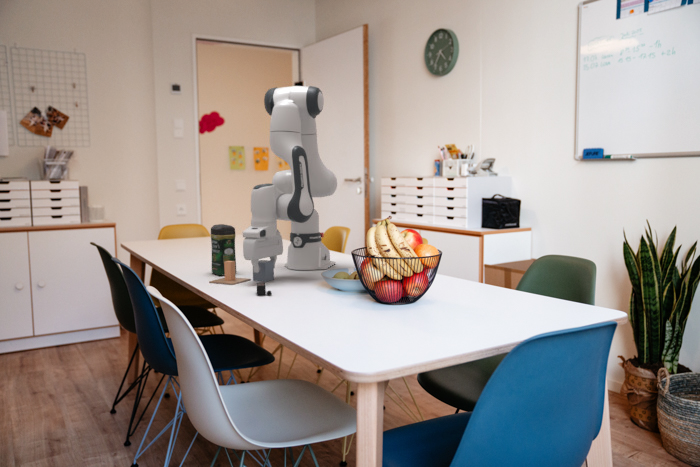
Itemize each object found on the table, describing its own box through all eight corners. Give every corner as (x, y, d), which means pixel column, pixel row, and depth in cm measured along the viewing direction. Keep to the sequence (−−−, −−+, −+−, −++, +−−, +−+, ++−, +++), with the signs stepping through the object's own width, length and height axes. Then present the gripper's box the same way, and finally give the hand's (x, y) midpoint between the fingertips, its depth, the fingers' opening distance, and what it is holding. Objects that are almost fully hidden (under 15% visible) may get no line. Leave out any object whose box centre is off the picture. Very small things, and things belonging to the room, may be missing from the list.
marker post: (227, 278, 204) (227, 258, 204) (250, 280, 200) (250, 260, 200) (209, 282, 195) (208, 262, 195) (233, 284, 191) (232, 264, 191)
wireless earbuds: (256, 296, 173) (256, 286, 173) (256, 292, 180) (256, 282, 180) (271, 296, 174) (271, 285, 174) (271, 291, 181) (270, 281, 180)
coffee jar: (208, 273, 215) (207, 224, 213) (227, 271, 220) (226, 223, 218) (219, 276, 208) (218, 225, 206) (239, 274, 212) (238, 224, 211)
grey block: (261, 278, 204) (261, 260, 203) (273, 279, 201) (273, 260, 201) (253, 280, 199) (252, 261, 198) (265, 281, 197) (265, 262, 196)
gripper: (272, 228, 209) (272, 266, 210) (239, 232, 190) (240, 273, 191) (287, 229, 206) (287, 267, 207) (255, 233, 188) (256, 275, 189)
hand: (264, 270), depth 199 cm, fingers open, 8 cm apart
